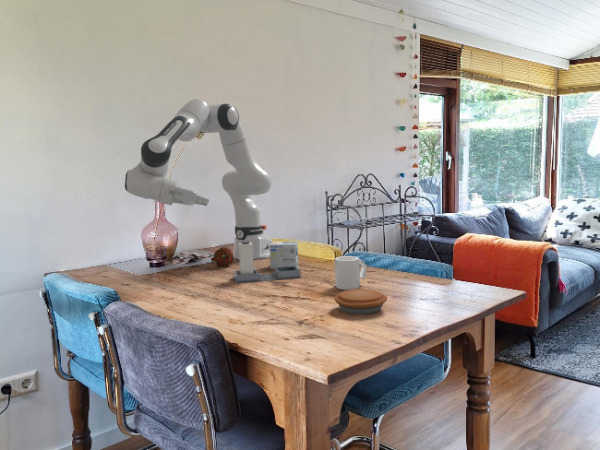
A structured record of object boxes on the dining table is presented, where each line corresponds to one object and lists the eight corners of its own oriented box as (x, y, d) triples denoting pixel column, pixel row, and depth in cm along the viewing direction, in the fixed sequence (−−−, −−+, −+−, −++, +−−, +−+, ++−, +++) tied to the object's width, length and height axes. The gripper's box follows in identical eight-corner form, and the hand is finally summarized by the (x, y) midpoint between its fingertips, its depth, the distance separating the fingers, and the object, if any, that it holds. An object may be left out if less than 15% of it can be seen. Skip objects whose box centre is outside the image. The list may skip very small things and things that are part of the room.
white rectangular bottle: (241, 280, 203) (239, 242, 201) (240, 278, 207) (238, 241, 205) (254, 279, 204) (252, 242, 202) (252, 277, 208) (250, 240, 206)
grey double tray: (236, 286, 199) (236, 276, 198) (232, 279, 210) (232, 269, 210) (302, 280, 204) (302, 271, 204) (295, 273, 216) (295, 265, 215)
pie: (353, 299, 177) (353, 284, 176) (397, 307, 167) (397, 290, 166) (323, 311, 165) (323, 294, 164) (369, 320, 155) (368, 302, 154)
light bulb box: (298, 267, 228) (297, 241, 226) (297, 271, 221) (296, 244, 219) (272, 267, 229) (271, 241, 227) (270, 271, 222) (269, 244, 221)
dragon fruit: (228, 272, 230) (217, 271, 240) (242, 257, 234) (230, 258, 244) (215, 257, 228) (204, 257, 238) (229, 242, 231) (218, 243, 241)
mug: (344, 290, 188) (344, 261, 186) (330, 285, 195) (329, 258, 194) (373, 285, 194) (373, 257, 192) (358, 281, 201) (358, 253, 200)
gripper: (171, 180, 191) (211, 191, 194) (172, 186, 211) (208, 196, 214) (166, 198, 191) (206, 209, 193) (168, 202, 211) (204, 212, 213)
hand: (207, 202), depth 204 cm, fingers open, 8 cm apart
